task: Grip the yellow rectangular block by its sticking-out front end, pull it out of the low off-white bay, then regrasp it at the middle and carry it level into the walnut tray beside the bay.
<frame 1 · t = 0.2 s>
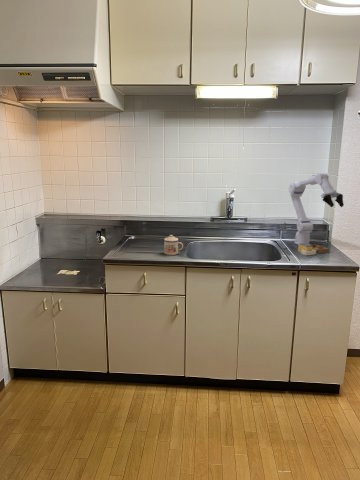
hand: (337, 206, 221), 31 cm above the countertop, tool tilted 45°, fingers open, 7 cm apart
bay: (307, 253, 231), on the countertop
teacup with lid: (173, 253, 229), on the countertop
tray: (316, 250, 240), on the countertop
yellow rectangular block: (304, 252, 234), on the countertop
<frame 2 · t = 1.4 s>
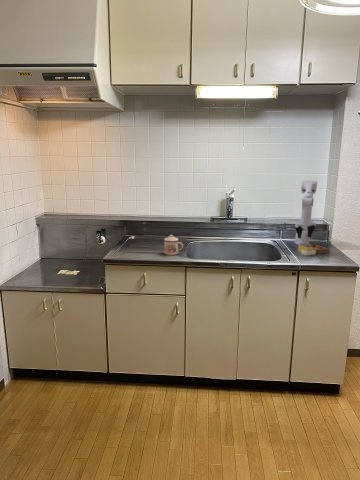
hand: (304, 237, 233), 9 cm above the countertop, tool pointing down, fingers open, 7 cm apart
nothing on the countertop moved.
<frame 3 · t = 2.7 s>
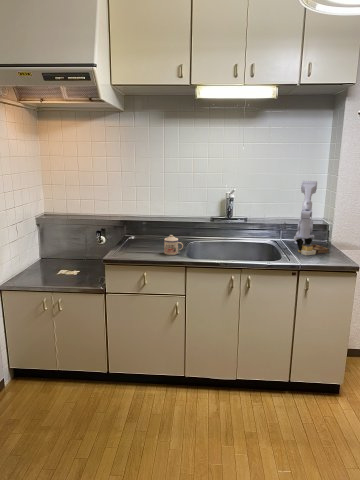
hand: (303, 249, 235), 1 cm above the countertop, tool pointing down, fingers closed on yellow rectangular block, 4 cm apart
yellow rectangular block: (304, 252, 234), on the countertop, touching gripper
everything else where it was.
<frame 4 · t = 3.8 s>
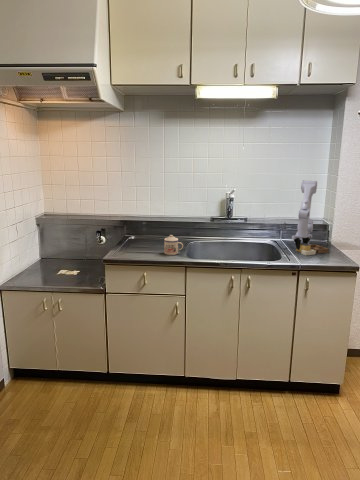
hand: (300, 249, 237), 1 cm above the countertop, tool pointing down, fingers closed on yellow rectangular block, 4 cm apart
yellow rectangular block: (302, 251, 236), on the countertop, touching gripper
everything else where it was.
when the fingers open (1 cm above the countertop, at t = 5.0 s): yellow rectangular block stays where it is, on the countertop.
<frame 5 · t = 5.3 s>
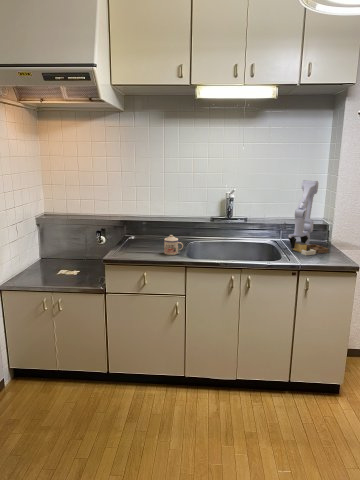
hand: (297, 247, 240), 1 cm above the countertop, tool pointing down, fingers open, 7 cm apart
yellow rectangular block: (299, 250, 239), on the countertop
everything else where it was.
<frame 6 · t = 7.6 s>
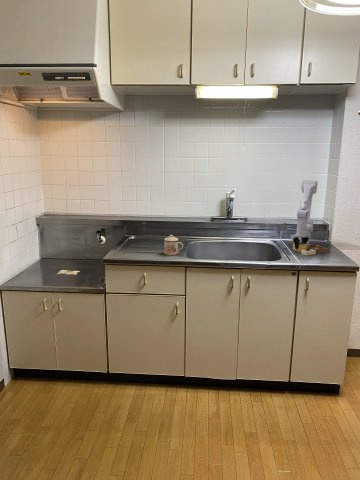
hand: (299, 248, 238), 1 cm above the countertop, tool pointing down, fingers closed on yellow rectangular block, 4 cm apart
yellow rectangular block: (299, 250, 239), on the countertop, touching gripper
everything else where it was.
when the fingers open (3 cm above the countertop, at t = 12.5 s): yellow rectangular block drops 1 cm, resting on tray.
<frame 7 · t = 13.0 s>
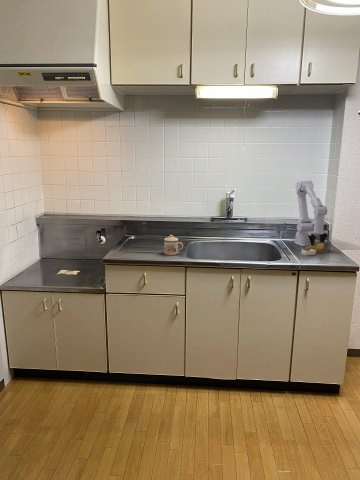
hand: (316, 245, 239), 3 cm above the countertop, tool pointing down, fingers open, 7 cm apart
yellow rectangular block: (316, 249, 240), resting on tray
everything else where it was.
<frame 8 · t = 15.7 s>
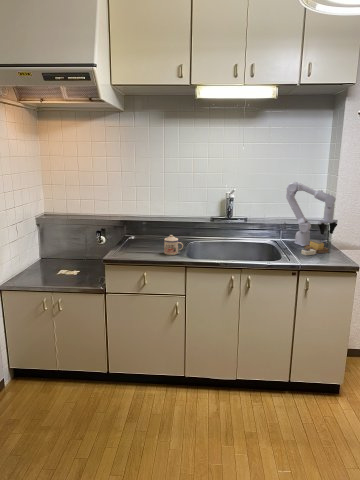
hand: (326, 233, 245), 9 cm above the countertop, tool pointing down, fingers open, 7 cm apart
nothing on the countertop moved.
at the end: yellow rectangular block 0.1 cm off-centre on the tray, point 0.5 cm above the tray's base; yellow rectangular block tilted 0°; the gripper is holding nothing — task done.
